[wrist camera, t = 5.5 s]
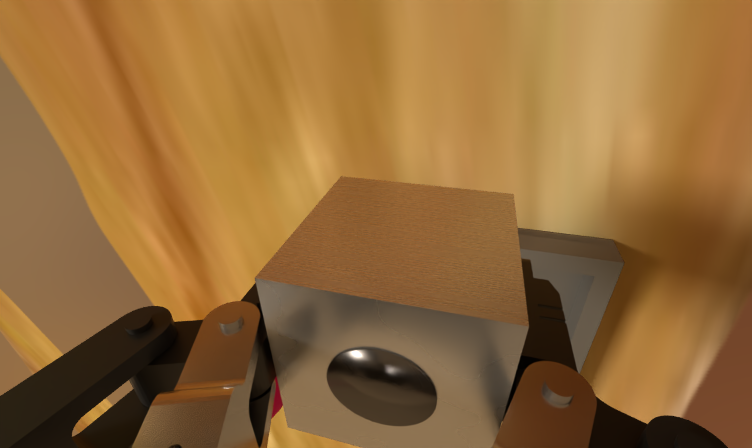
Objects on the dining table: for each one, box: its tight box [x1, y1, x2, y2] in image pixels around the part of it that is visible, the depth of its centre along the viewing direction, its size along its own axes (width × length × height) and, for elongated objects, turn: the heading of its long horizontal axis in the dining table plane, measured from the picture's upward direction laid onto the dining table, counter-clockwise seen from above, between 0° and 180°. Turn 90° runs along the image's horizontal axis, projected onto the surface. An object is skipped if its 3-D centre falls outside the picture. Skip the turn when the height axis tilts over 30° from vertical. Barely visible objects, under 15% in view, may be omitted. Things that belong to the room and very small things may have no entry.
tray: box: [518, 228, 624, 374], centre depth 28 cm, size 16×16×2 cm
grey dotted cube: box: [255, 176, 529, 448], centre depth 10 cm, size 5×5×5 cm
